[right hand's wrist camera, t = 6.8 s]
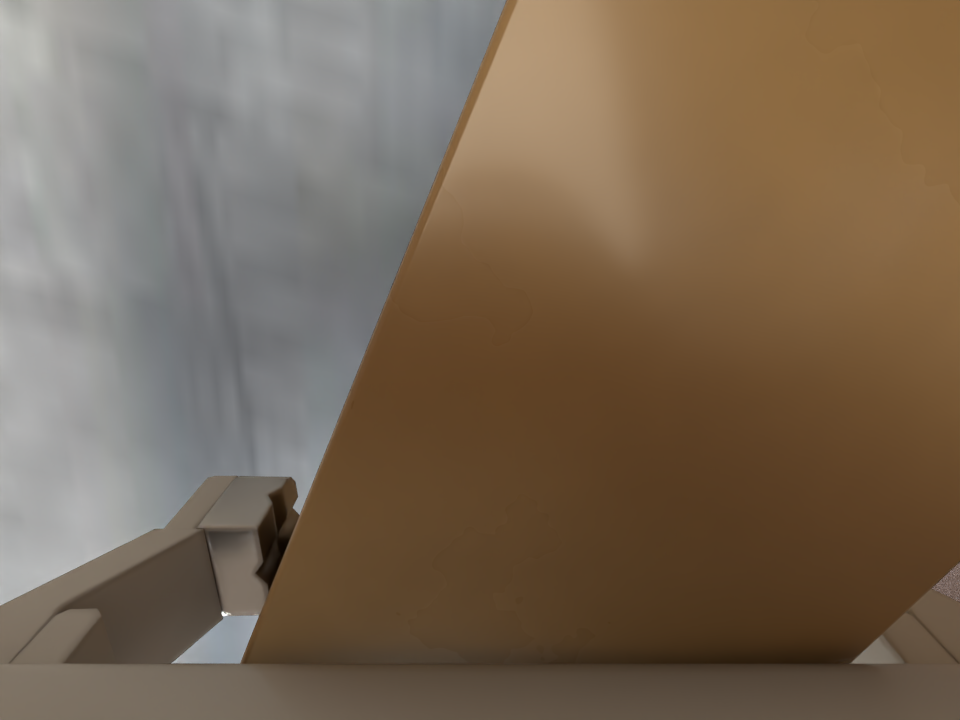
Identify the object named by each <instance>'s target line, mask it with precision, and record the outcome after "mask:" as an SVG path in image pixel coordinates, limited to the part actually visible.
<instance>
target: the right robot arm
mask: <svg viewBox="0 0 960 720" xmlns="http://www.w3.org/2000/svg"><path fill="white" fill-rule="evenodd" d="M297 498H298V494H297V488H296V483H295V481H294V480H293V479H292V477H264V476H239V477H238V476H212V477H209V478H207V479H206V480H205V481H204V483H203V484H202V485H201V486H200V487H199V488H198V490H197V491H196V492H195V493H194V494H193V495H192V497H191V498H190V499H189V500H188V501H187V502H186V504H185V505H184V506H183V507H182V508H181V509H180V511H179V512H178V513H177V514H176V515H175V516H174V518H173V519H172V520H171V521H170V522H169V523H168V525H167V526H166V527H165V528H164V529H154V530H152V531H150V532H148V533H146V534H144V535H142V536H140V537H138V538H136V539H134V540H132V541H130V542H128V543H126V544H124V545H122V546H120V547H118V548H116V549H114V550H112V551H110V552H108V553H106V554H104V555H102V556H100V557H98V558H96V559H94V560H92V561H90V562H88V563H86V564H84V565H82V566H80V567H77V568H75V569H73V570H71V571H69V572H67V573H65V574H63V575H61V576H59V577H57V578H55V579H53V580H51V581H49V582H47V583H45V584H43V585H41V586H39V587H37V588H35V589H33V590H31V591H29V592H27V593H25V594H23V595H21V596H19V597H17V598H15V599H13V600H11V601H9V602H7V603H5V604H3V605H1V606H0V720H960V602H958V601H956V600H954V599H952V598H950V597H948V596H946V595H944V594H942V593H940V592H938V591H935V590H933V589H930V590H929V591H928V592H927V593H926V594H925V595H924V596H923V597H922V598H921V599H919V600H918V601H917V602H916V603H915V604H914V605H913V606H912V607H911V608H910V609H909V610H908V611H907V612H906V613H904V614H903V615H902V616H901V617H900V618H899V619H898V620H897V621H896V622H895V623H894V624H893V625H892V626H891V627H890V628H888V629H887V630H886V631H885V632H884V633H883V634H882V635H881V636H880V637H879V638H878V639H877V640H876V641H875V642H873V643H872V644H871V645H870V646H869V647H868V648H867V649H866V650H865V651H864V652H863V653H862V654H861V655H860V656H858V657H857V658H856V659H855V660H854V661H853V662H852V663H851V664H171V663H172V662H173V661H174V660H175V659H177V658H178V657H179V656H180V655H181V654H182V653H184V652H185V651H186V650H187V649H188V648H189V647H191V646H192V645H193V644H194V643H195V642H196V641H198V640H199V639H200V638H201V637H202V636H204V635H205V634H206V633H207V632H208V631H209V630H211V629H212V628H213V627H214V626H215V625H216V624H218V623H219V622H220V621H221V620H222V619H223V616H245V615H260V613H261V610H262V608H263V605H264V603H265V600H266V598H267V595H268V593H269V590H270V588H271V585H272V583H273V580H274V578H275V575H276V573H277V571H278V568H279V566H280V563H281V561H282V558H283V556H284V553H285V551H286V548H287V546H288V543H289V541H290V538H291V536H292V533H293V531H294V528H295V526H296V523H297V521H298V518H299V516H300V515H299V514H298V513H297V512H296V511H295V510H294V509H293V508H292V507H293V505H294V503H295V502H296V500H297Z"/></svg>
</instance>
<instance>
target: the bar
mask: <svg viewBox="0 0 960 720" xmlns="http://www.w3.org/2000/svg"><path fill="white" fill-rule="evenodd" d="M959 562H960V0H507V1H506V3H505V6H504V8H503V11H502V13H501V16H500V18H499V21H498V23H497V26H496V28H495V31H494V33H493V36H492V38H491V40H490V43H489V45H488V48H487V50H486V53H485V55H484V58H483V60H482V63H481V65H480V68H479V70H478V73H477V75H476V78H475V80H474V83H473V85H472V88H471V90H470V93H469V95H468V98H467V100H466V103H465V105H464V108H463V110H462V113H461V115H460V118H459V120H458V123H457V125H456V128H455V130H454V133H453V135H452V138H451V140H450V143H449V145H448V147H447V150H446V152H445V155H444V157H443V160H442V162H441V165H440V167H439V170H438V172H437V175H436V177H435V180H434V182H433V185H432V187H431V190H430V192H429V195H428V197H427V200H426V202H425V205H424V207H423V210H422V212H421V215H420V217H419V220H418V222H417V225H416V227H415V230H414V232H413V235H412V237H411V240H410V242H409V245H408V247H407V250H406V252H405V254H404V257H403V259H402V262H401V264H400V267H399V269H398V272H397V274H396V277H395V279H394V282H393V284H392V287H391V289H390V292H389V294H388V297H387V299H386V302H385V304H384V307H383V309H382V312H381V314H380V317H379V319H378V322H377V324H376V327H375V329H374V332H373V334H372V337H371V339H370V342H369V344H368V347H367V349H366V352H365V354H364V357H363V359H362V361H361V364H360V366H359V369H358V371H357V374H356V376H355V379H354V381H353V384H352V386H351V389H350V391H349V394H348V396H347V399H346V401H345V404H344V406H343V409H342V411H341V414H340V416H339V419H338V421H337V424H336V426H335V429H334V431H333V434H332V436H331V439H330V441H329V444H328V446H327V449H326V451H325V454H324V456H323V459H322V461H321V464H320V466H319V468H318V471H317V473H316V476H315V478H314V481H313V483H312V486H311V488H310V491H309V493H308V496H307V498H306V501H305V503H304V506H303V508H302V511H301V513H300V516H299V518H298V521H297V523H296V526H295V528H294V531H293V533H292V536H291V538H290V541H289V543H288V546H287V548H286V551H285V553H284V556H283V558H282V561H281V563H280V566H279V568H278V571H277V573H276V575H275V578H274V580H273V583H272V585H271V588H270V590H269V593H268V595H267V598H266V600H265V603H264V605H263V608H262V610H261V613H260V615H259V618H258V620H257V623H256V625H255V628H254V630H253V633H252V635H251V638H250V640H249V643H248V645H247V648H246V650H245V653H244V655H243V658H242V660H241V663H240V664H851V663H852V662H853V661H854V660H855V659H856V658H857V657H858V656H860V655H861V654H862V653H863V652H864V651H865V650H866V649H867V648H868V647H869V646H870V645H871V644H872V643H873V642H875V641H876V640H877V639H878V638H879V637H880V636H881V635H882V634H883V633H884V632H885V631H886V630H887V629H888V628H890V627H891V626H892V625H893V624H894V623H895V622H896V621H897V620H898V619H899V618H900V617H901V616H902V615H903V614H904V613H906V612H907V611H908V610H909V609H910V608H911V607H912V606H913V605H914V604H915V603H916V602H917V601H918V600H919V599H921V598H922V597H923V596H924V595H925V594H926V593H927V592H928V591H929V590H930V589H931V588H932V587H933V586H934V585H936V584H937V583H938V582H939V581H940V580H941V579H942V578H943V577H944V576H945V575H946V574H947V573H948V572H949V571H951V570H952V569H953V568H954V567H955V566H956V565H957V564H958V563H959Z"/></svg>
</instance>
